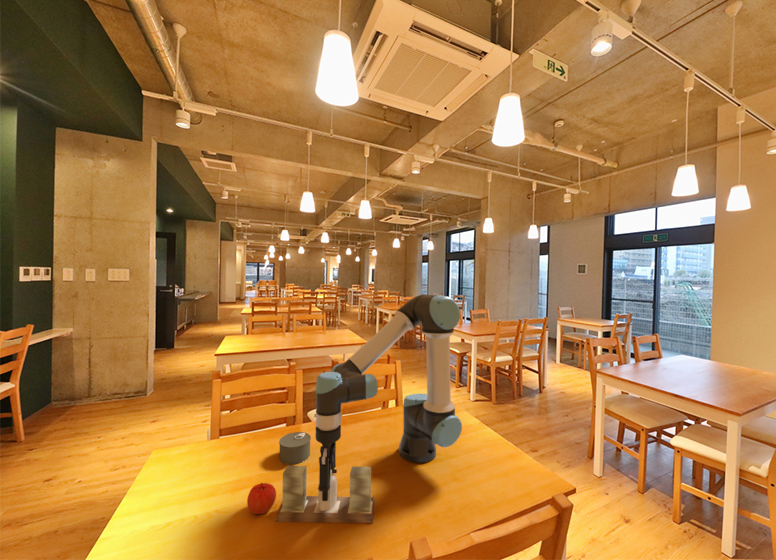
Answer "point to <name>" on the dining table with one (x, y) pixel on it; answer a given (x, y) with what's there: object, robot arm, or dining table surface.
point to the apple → (261, 498)
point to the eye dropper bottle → (333, 491)
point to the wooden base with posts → (306, 507)
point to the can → (294, 448)
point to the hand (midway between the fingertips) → (327, 502)
